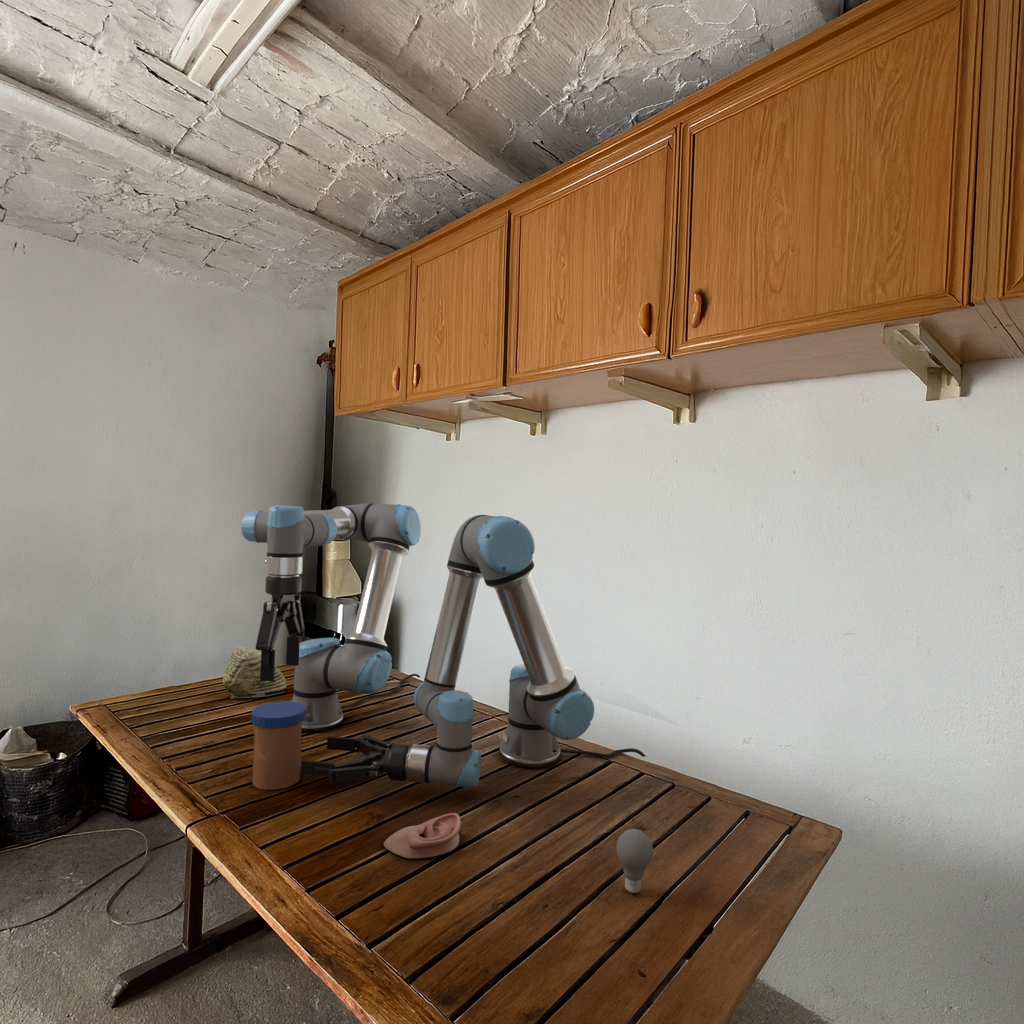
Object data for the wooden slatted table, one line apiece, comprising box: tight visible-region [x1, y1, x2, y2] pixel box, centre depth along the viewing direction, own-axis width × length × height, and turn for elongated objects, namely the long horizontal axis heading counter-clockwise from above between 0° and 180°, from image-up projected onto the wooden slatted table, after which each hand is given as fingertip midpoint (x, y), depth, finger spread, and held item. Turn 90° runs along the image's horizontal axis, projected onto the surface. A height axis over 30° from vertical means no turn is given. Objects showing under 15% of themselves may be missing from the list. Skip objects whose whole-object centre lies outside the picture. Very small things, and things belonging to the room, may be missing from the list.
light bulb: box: [615, 828, 654, 894], centre depth 106 cm, size 6×6×10 cm
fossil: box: [222, 646, 288, 699], centre depth 198 cm, size 9×18×15 cm, turn 132°
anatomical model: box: [383, 812, 462, 859], centre depth 117 cm, size 13×4×12 cm
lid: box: [250, 700, 305, 728], centre depth 141 cm, size 11×11×2 cm
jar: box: [251, 722, 303, 791], centre depth 141 cm, size 10×10×15 cm
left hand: (280, 672), depth 140 cm, fingers open, 12 cm apart
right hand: (315, 754), depth 139 cm, fingers open, 13 cm apart
